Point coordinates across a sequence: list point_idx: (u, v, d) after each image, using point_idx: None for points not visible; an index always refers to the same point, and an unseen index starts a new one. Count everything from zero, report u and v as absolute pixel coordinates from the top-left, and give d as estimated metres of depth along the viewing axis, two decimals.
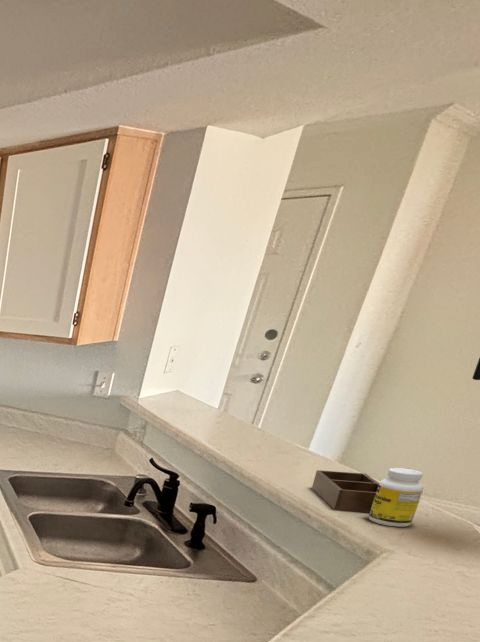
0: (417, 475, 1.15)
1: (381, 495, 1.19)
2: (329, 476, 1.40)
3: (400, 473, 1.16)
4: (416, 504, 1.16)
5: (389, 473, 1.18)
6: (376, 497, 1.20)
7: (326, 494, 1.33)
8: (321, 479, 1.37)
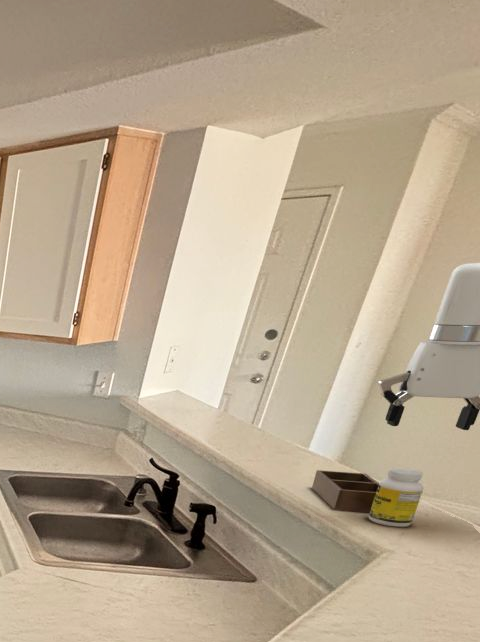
0: (417, 475, 1.15)
1: (381, 495, 1.19)
2: (329, 476, 1.40)
3: (400, 473, 1.16)
4: (416, 504, 1.16)
5: (389, 473, 1.18)
6: (376, 497, 1.20)
7: (326, 494, 1.33)
8: (321, 479, 1.37)
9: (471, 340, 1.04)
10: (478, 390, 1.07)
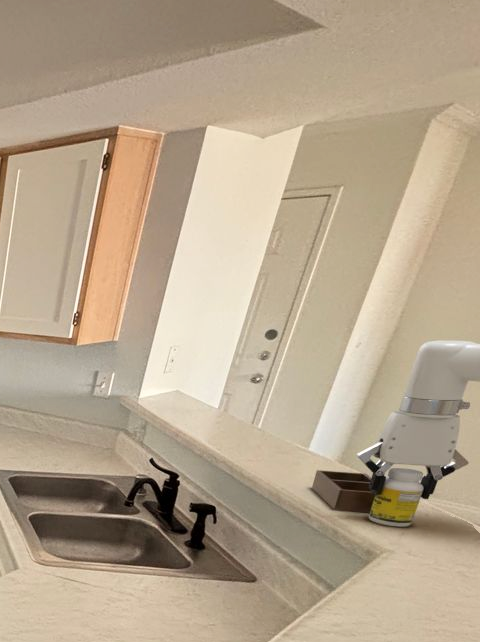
0: (418, 475, 1.15)
1: (381, 495, 1.19)
2: (329, 476, 1.40)
3: (400, 473, 1.16)
4: (416, 504, 1.16)
5: (389, 473, 1.18)
6: (376, 497, 1.20)
7: (326, 494, 1.33)
8: (321, 479, 1.37)
9: (438, 414, 1.10)
10: (447, 459, 1.12)
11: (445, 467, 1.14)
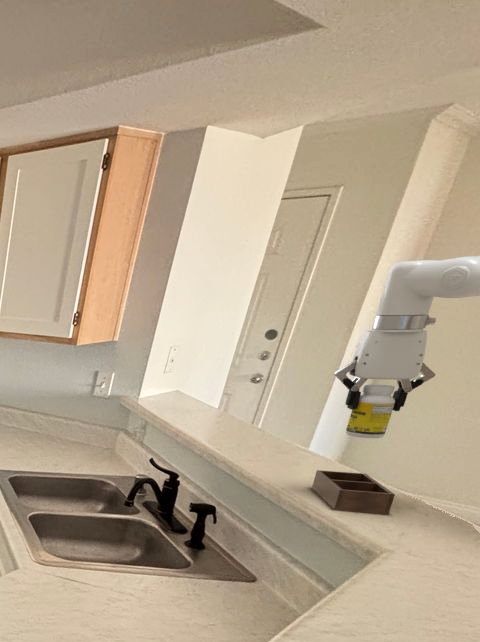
0: (389, 388, 1.25)
1: (357, 409, 1.29)
2: (329, 476, 1.40)
3: (374, 387, 1.26)
4: (388, 416, 1.26)
5: (364, 388, 1.28)
6: (352, 412, 1.30)
7: (326, 494, 1.33)
8: (321, 479, 1.37)
9: (407, 328, 1.20)
10: (415, 372, 1.22)
11: (414, 380, 1.24)
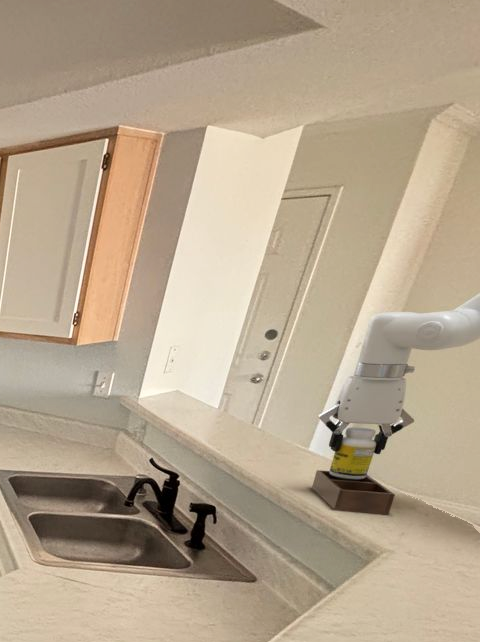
0: (370, 432, 1.30)
1: (340, 451, 1.34)
2: (329, 476, 1.40)
3: (356, 431, 1.31)
4: (369, 459, 1.31)
5: (346, 432, 1.33)
6: (335, 454, 1.35)
7: (326, 494, 1.33)
8: (321, 479, 1.37)
9: (386, 376, 1.24)
10: (395, 418, 1.27)
11: (394, 425, 1.29)
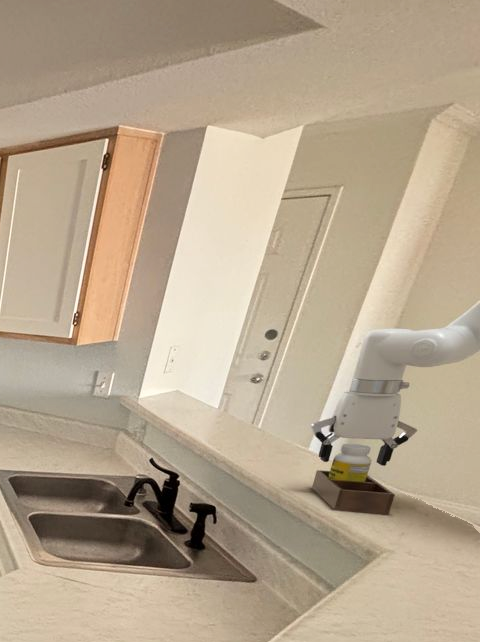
0: (365, 449, 1.31)
1: (335, 468, 1.35)
2: None
3: (351, 448, 1.32)
4: (365, 475, 1.32)
5: (342, 448, 1.34)
6: (331, 470, 1.36)
7: (326, 494, 1.33)
8: (321, 479, 1.37)
9: (381, 392, 1.25)
10: (391, 433, 1.28)
11: (399, 437, 1.29)
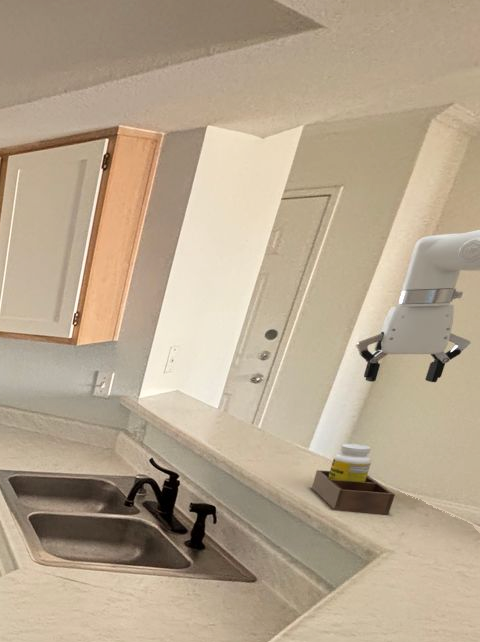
0: (365, 449, 1.31)
1: (335, 468, 1.35)
2: None
3: (351, 448, 1.32)
4: (365, 475, 1.32)
5: (342, 448, 1.34)
6: (331, 470, 1.36)
7: (326, 494, 1.33)
8: (321, 479, 1.37)
9: (434, 302, 1.20)
10: (442, 346, 1.22)
11: (451, 351, 1.23)
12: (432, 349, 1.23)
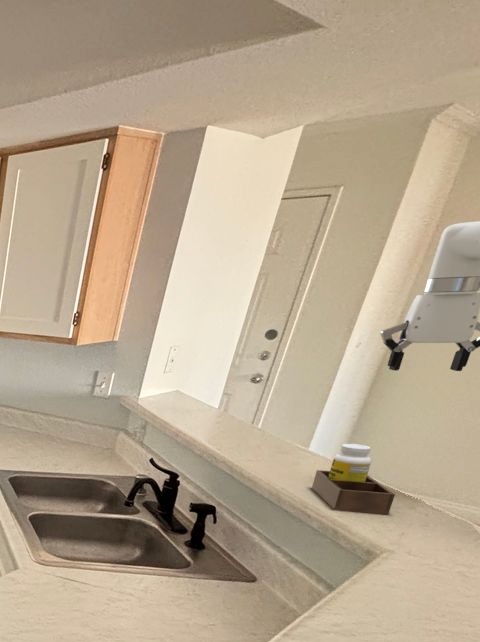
0: (365, 449, 1.31)
1: (335, 468, 1.35)
2: None
3: (351, 448, 1.32)
4: (365, 475, 1.32)
5: (342, 448, 1.34)
6: (331, 470, 1.36)
7: (326, 494, 1.33)
8: (321, 479, 1.37)
9: (460, 290, 1.19)
10: (468, 334, 1.22)
11: (477, 340, 1.23)
12: (458, 338, 1.23)
